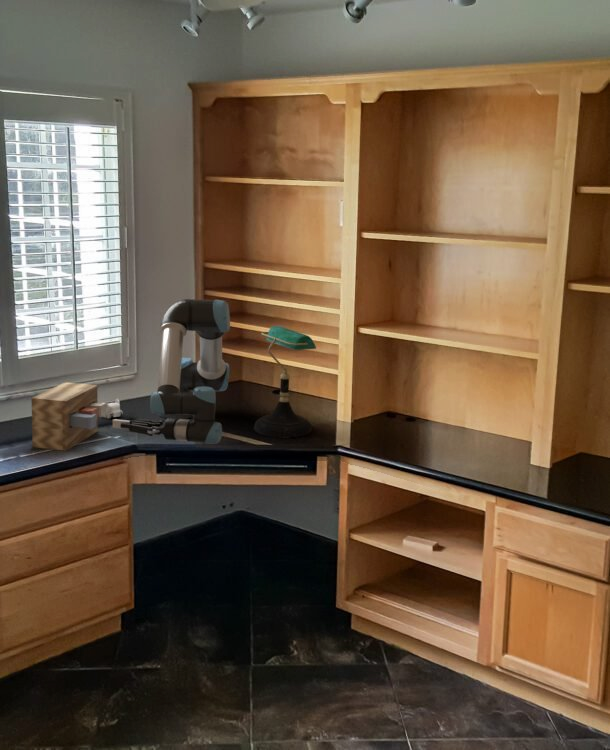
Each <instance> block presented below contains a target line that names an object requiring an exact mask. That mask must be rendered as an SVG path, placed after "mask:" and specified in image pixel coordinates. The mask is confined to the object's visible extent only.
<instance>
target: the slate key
mask: <svg viewBox="0 0 610 750" xmlns="http://www.w3.org/2000/svg"><path fill="white" fill-rule="evenodd" d="M69 420H70V426H72V427H82V428H89V429H93V428H94V427H96V414H93V415H87V414H77V413H72V414H70V415H69Z"/></svg>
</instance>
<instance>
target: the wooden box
mask: <svg viewBox="0 0 610 750" xmlns="http://www.w3.org/2000/svg"><path fill="white" fill-rule="evenodd" d="M90 403H99V402H98V385H97V384H90V383H89V384H87V383H78V382H77V383H76V382H67V381H66V382H62V383H61V384H59V385H56V386H54V387H51V388H50V389H48V390H45V391H44V392H42V393H39V394H37V395H35V396H32V397H31V429H32V430H31V433H32V435H31V436H32V448H38V449H48V450H57V451H65V452H66V451H69V450H70V449H72V448H73V447H75V446H77V445H78V444H80V443H82V442H83V441H85V440H86V439H88V438H90V437H92V435H94V434H95V433H97V432H98V431H99V425H98V424H99V423H98V420H99V416H97V420H96V427H94V428H93V429H89V428H82V427H72V426H70V420H69V415H70V414H72V413H77V414H79V409H81V408H89V404H90Z"/></svg>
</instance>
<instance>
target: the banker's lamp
mask: <svg viewBox="0 0 610 750" xmlns="http://www.w3.org/2000/svg"><path fill="white" fill-rule="evenodd" d="M261 336H264V337H266V340H267V341H269V342H270V345H269V346H268V348H267V352H268V354H269V356H270V357H271V358H272V359H273V360H274V361H275V362H276V363H277V364H278V365H279V366H280V367H281V369H282V371H283V373H281V374H280V377H279V378H280V385H279V386H280V388H279V395H280V397H279V401H278V403H277V406H276V407H275V408H274V410H273V411H272V413H268V414H265V415H263V416H261V417H260V418H258V419H257V420H256V421H255V422H254V426H253V430H254V431H255V432H256V433H258V434H259V435H262V436H266V437H271V438H277V437H278V439H291V438H290V437H296V438H299V437H298V436H302V437H304V436H303V435H306V434H308V435H310V434H311V433H312V432H311V431H313V429H312V427H313V426H312V424H311V422H310V421H309V420H308V418H304V417H303V416H301V415H297V414H296V413H295V412H294V410H293V408H292V407H291V403H290V401H289V395H290V394H289V393H290V389H289V388H290V374H289V373H288V369H287V367H284V366H283V364H282V363H281V362H280V361H279V360H278V359H277V358H276V357H275V356H274V354H272V352H271V349H272V347H273V346H274V344H277V345H279V346H282V347H285V348H288V349H291V350H294V351H298V350H299V351H302V350H303V351H304V350H315V349H317V347H316V344H315V342H314V340H313V339H312V337H310V336H309V335H307V334H305V333H301V332H298V331H295V330H292V329H289V328H287V327H283V326H279V325H273V326H272V327H271V326H270V327H269V329H268V331H263V332H261ZM310 432H311V433H310ZM309 433H310V434H309ZM306 436H307V435H306Z"/></svg>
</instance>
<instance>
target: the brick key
mask: <svg viewBox="0 0 610 750" xmlns="http://www.w3.org/2000/svg"><path fill="white" fill-rule="evenodd" d="M79 414H87V415H93V414H96V420H97V408H93V409H91V408H81V409H79Z"/></svg>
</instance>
